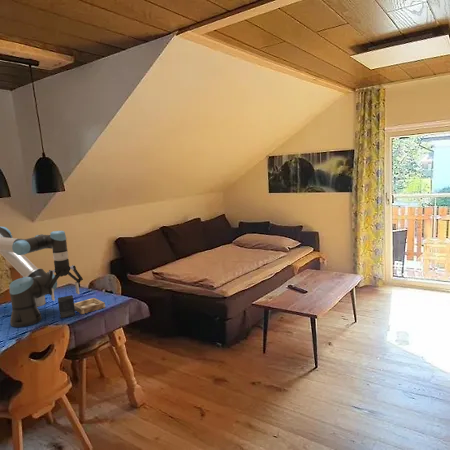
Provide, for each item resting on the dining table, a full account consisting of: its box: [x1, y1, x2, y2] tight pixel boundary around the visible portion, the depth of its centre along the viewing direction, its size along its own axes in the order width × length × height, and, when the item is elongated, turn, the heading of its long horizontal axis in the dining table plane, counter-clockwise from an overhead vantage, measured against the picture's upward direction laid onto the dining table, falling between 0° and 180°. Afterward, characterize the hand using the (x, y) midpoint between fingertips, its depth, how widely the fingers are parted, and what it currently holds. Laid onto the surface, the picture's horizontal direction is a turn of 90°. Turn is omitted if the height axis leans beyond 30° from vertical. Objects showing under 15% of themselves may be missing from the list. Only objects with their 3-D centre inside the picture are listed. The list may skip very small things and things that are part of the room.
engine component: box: [36, 295, 47, 308], centre depth 245 cm, size 11×20×10 cm
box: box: [57, 294, 76, 319], centre depth 223 cm, size 8×6×11 cm
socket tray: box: [74, 297, 106, 315], centre depth 234 cm, size 14×14×3 cm
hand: (65, 296), depth 222 cm, fingers open, 13 cm apart
